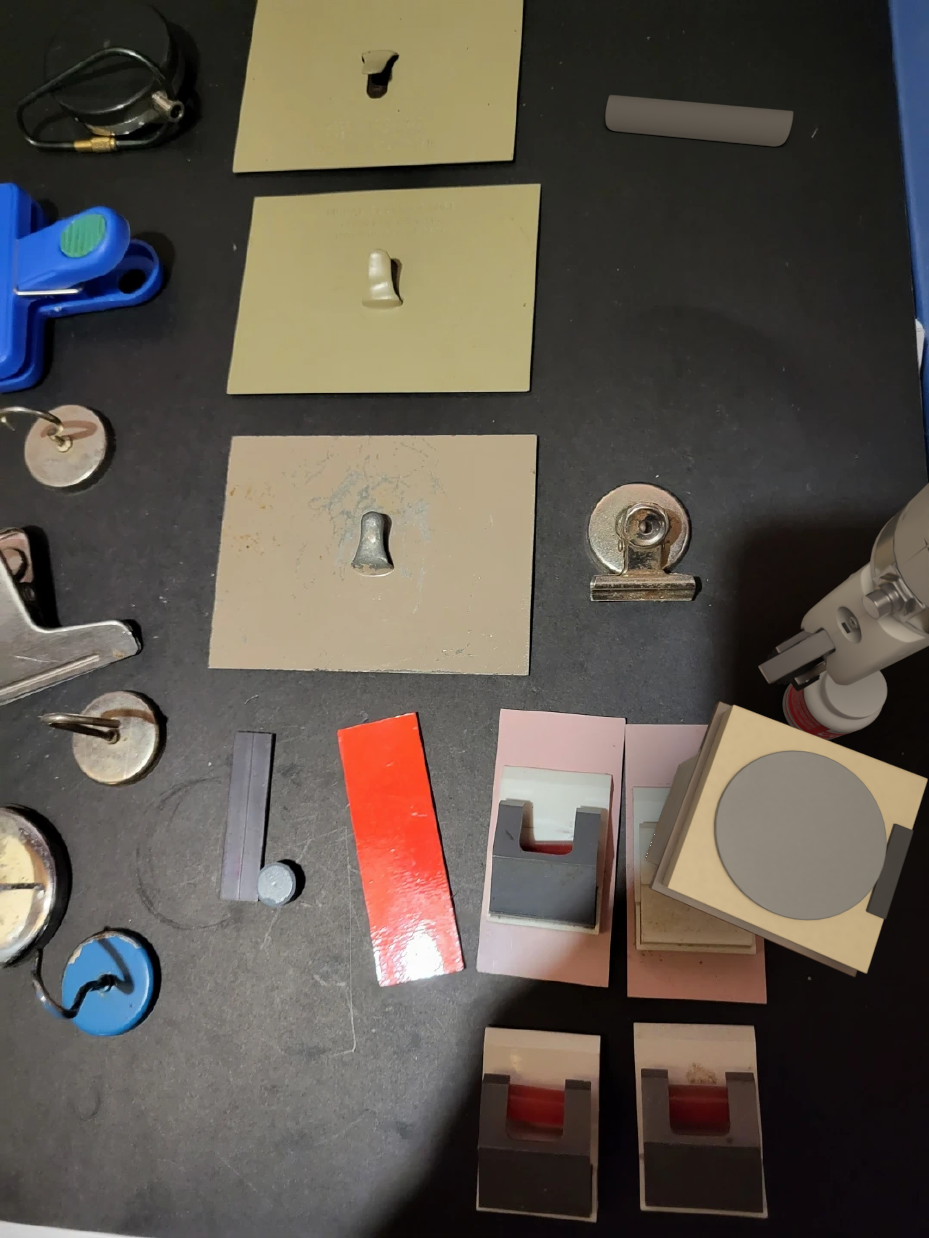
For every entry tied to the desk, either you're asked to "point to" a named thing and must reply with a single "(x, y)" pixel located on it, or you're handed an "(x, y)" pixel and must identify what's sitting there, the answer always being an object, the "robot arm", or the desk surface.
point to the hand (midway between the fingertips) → (851, 636)
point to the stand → (671, 830)
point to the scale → (797, 836)
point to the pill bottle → (835, 705)
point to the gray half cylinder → (698, 120)
